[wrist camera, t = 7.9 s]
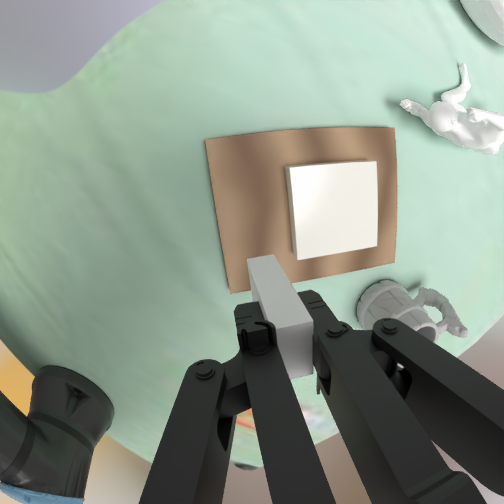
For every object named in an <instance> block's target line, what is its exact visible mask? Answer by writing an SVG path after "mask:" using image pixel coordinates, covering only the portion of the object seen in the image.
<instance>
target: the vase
mask: <svg viewBox="0 0 504 504" xmlns="http://www.w3.org/2000/svg"><path fill="white" fill-rule="evenodd" d="M460 2H461V4H462V6H463V8H464V9H465V11H466V13H467V14H468V16H469V17H470V18H471V20H472V21H473V22H474V23H475V25H476V26H477V27H478V28H479V29H480V30H481V31H482V32H484V33H485V34H486V35H487V36H488V37H489V38H491V39H492V40H494V41H495V42H497V43H499V44H500V45H502V46H503V47H504V0H460Z"/></svg>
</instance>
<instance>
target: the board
mask: <svg viewBox="0 0 504 504" xmlns="http://www.w3.org/2000/svg"><path fill="white" fill-rule="evenodd" d="M205 142H206V149H207V156H208V163H209V169H210V176H211V182H212V189H213V195H214V201H215V208H216V214H217V220H218V226H219V232H220V238H221V244H222V249H223V255H224V261H225V266H226V272H227V278H228V283H229V289H230V294H231V293H238V292H244V291H250V290H251V285H250V278H249V271H248V264H247V259H249V258H255V257H261V256H267V255H272V254H274V256H275V257H276V259H277V261H278V262H279V264H280V266H281V267H282V269H283V271H284V272H285V274H286V276H287V277H288V279H289V281H290V282H291V283H295V282H301V281H306V280H311V279H317V278H322V277H327V276H332V275H337V274H342V273H347V272H352V271H357V270H362V269H367V268H371V267H376V266H381V265H385V264H390V263H394V262H395V249H396V232H397V158H396V141H395V128H387V127H333V128H309V129H294V130H281V131H270V132H260V133H251V134H243V135H235V136H228V137H221V138H215V139H208V140H205ZM356 160H372V161H376V162H377V188H378V232H377V246H375V247H370V248H364V249H359V250H353V251H348V252H342V253H337V254H331V255H325V256H320V257H314V258H308V259H302V260H297V259H296V257H295V256H294V254H293V246H292V234H291V222H290V211H289V200H288V190H287V180H286V170H285V166H293V165H303V164H314V163H326V162H340V161H356Z"/></svg>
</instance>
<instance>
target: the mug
mask: <svg viewBox="0 0 504 504" xmlns="http://www.w3.org/2000/svg"><path fill="white" fill-rule="evenodd" d="M424 304H426V306H432V307H436V308H437V309H438V310H439V311H440V312H441V313H442V317H443V320H442V321H440V322H439V323H437V324H435V323H434V322H433V321H432V319H431V318H430V317H429V316H428V314H427V312H426V310H425V309H424V308H423V306H424ZM357 316H358V319H359V323H360V325H361V327H362V328H363V329H364V330H372V329H373V325H374V323H375V322H376V321H377V320H379V319H382V318H394V319H397V320H400V321H401V322H403V323H405V324H406V325H408V326H409V327H411V328H412V329H414V330H415V331H417V332H418V333H420V334H421V335H423V336H424V337H426V338H427V339H429V340H431V341H432V342H434V343H435V344H436V342H437V339H438V335H439V334H441V333H442V332H444V331H448V332H449V333H451V334H452V335H455V336H458V337H466V336H467V332H468V329H467V328H466V327H464V326H463V325H462V323H461V322H460V319H459V318H458V316H457V314H456V312H455V310H454V309H453V307H452V305H451V304H450V303H449V300H448V299H447V298H446V297H445V296H443V295H442V294H440V293H439V292H437V291H436V290H433V289H431V288H430V289H426V288H424V287H421V288H420V289H419V293H418V295H417V296H416V298H415V299H414V300H412V299H411V298H410V297H409V294H408V292H407V290H406V289H405V288H404V287H403V286H402V285H400V284H399V283H396V282H393V281H390V280H382V281H380V282H379V284H373V285H372V286H370V287H369V288H368V289H367V290H366V291H365V292H364V293H363V295H362V296H361V300H359V302H358V305H357ZM398 366H400V367H401V368H403V366H402V365H400V364H399V363H398Z"/></svg>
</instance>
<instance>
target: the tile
mask: <svg viewBox="0 0 504 504" xmlns="http://www.w3.org/2000/svg"><path fill="white" fill-rule="evenodd" d="M285 170H286V180H287V190H288V200H289V211H290V222H291V234H292V246H293V254H294V256H295V257H296V259H297V260H302V259H308V258H314V257H320V256H325V255H331V254H337V253H342V252H348V251H353V250H359V249H364V248H370V247H375V246H377V232H378V188H377V162H376V161H372V160H356V161H340V162H326V163H314V164H303V165H293V166H285Z"/></svg>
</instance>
